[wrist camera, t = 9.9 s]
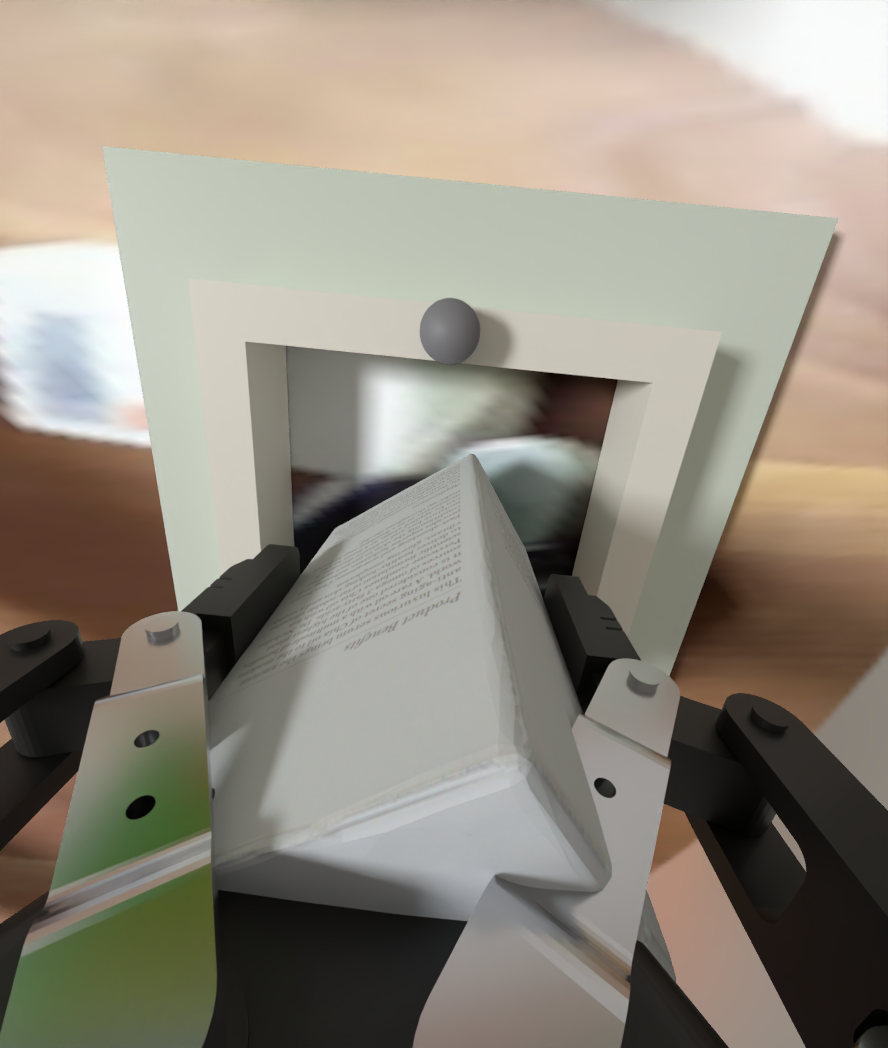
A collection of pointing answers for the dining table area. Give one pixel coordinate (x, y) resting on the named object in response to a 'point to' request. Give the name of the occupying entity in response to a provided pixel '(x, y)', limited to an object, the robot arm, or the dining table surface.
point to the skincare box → (408, 723)
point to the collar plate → (482, 275)
